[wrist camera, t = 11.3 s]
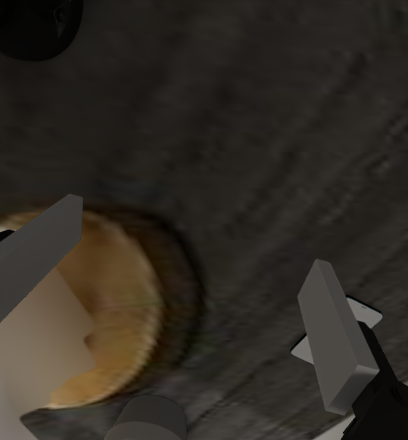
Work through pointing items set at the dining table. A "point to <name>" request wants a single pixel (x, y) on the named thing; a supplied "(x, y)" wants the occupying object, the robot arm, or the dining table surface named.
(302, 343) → the smartphone
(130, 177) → the dining table surface
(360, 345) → the robot arm
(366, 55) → the dining table surface
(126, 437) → the bowl
